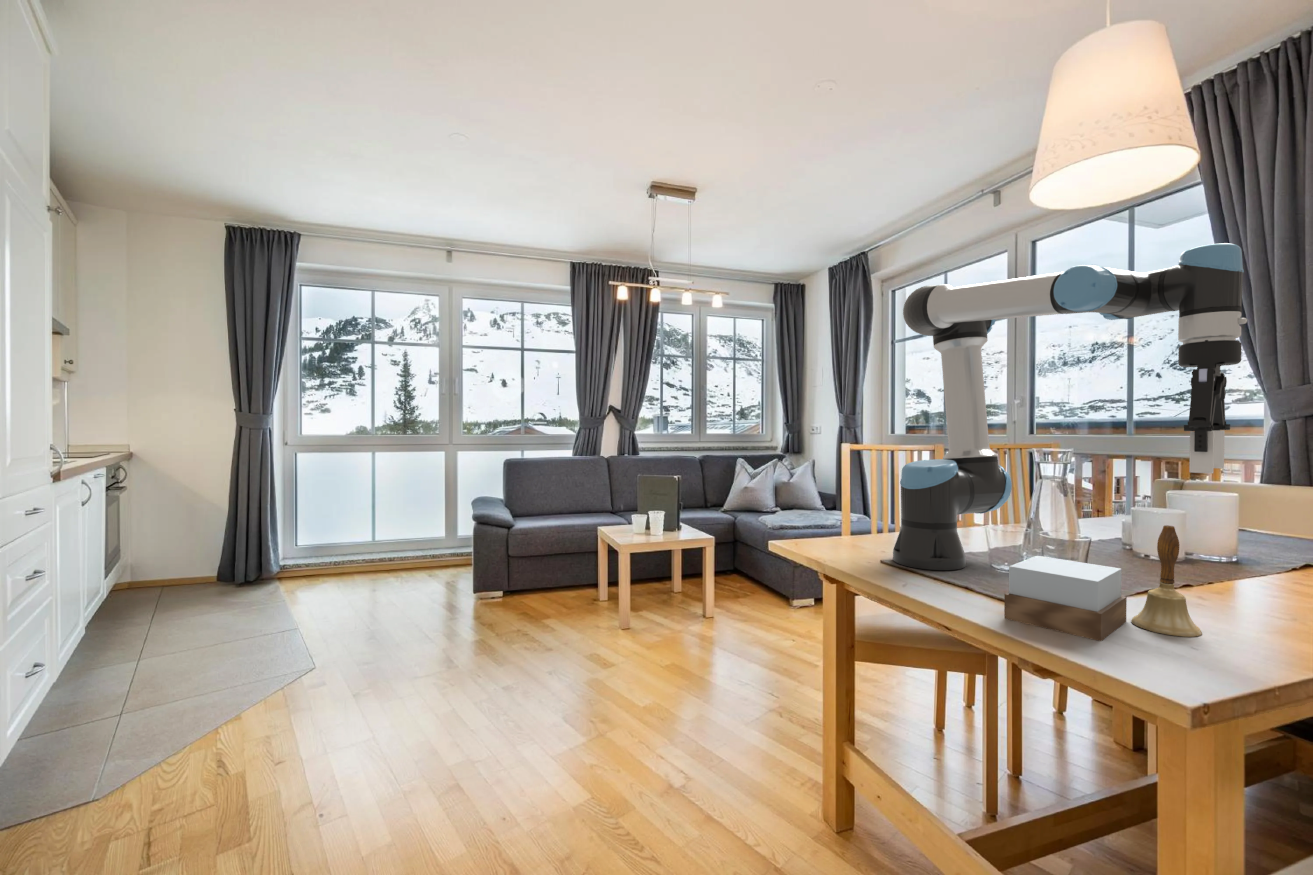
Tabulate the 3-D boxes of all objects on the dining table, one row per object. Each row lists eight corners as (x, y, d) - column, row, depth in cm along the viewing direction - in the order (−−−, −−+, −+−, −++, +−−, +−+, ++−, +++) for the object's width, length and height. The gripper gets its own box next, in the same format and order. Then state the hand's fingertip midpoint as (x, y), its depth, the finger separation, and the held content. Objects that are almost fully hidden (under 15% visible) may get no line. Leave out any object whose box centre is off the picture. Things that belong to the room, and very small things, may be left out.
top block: (1008, 593, 95) (1009, 566, 95) (1036, 580, 103) (1037, 555, 103) (1097, 611, 86) (1097, 581, 86) (1121, 596, 93) (1121, 568, 93)
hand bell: (1202, 627, 90) (1204, 525, 90) (1201, 641, 85) (1202, 532, 84) (1134, 615, 96) (1135, 519, 96) (1128, 627, 90) (1129, 525, 90)
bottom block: (1004, 621, 95) (1004, 593, 95) (1034, 605, 103) (1034, 580, 103) (1101, 644, 85) (1101, 613, 85) (1126, 624, 93) (1126, 596, 93)
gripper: (1232, 331, 85) (1230, 476, 85) (1248, 345, 101) (1246, 467, 101) (1165, 337, 90) (1163, 473, 91) (1190, 349, 107) (1188, 465, 107)
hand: (1207, 470), depth 96 cm, fingers open, 13 cm apart
